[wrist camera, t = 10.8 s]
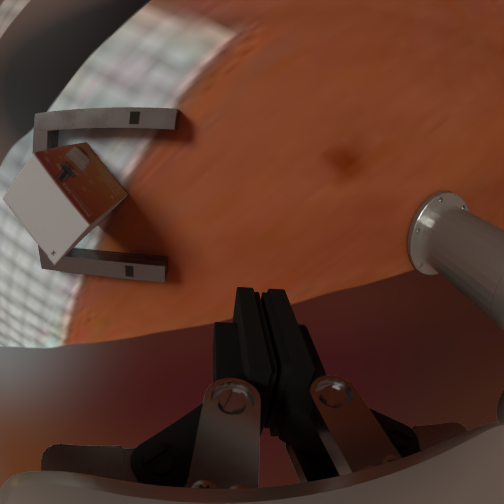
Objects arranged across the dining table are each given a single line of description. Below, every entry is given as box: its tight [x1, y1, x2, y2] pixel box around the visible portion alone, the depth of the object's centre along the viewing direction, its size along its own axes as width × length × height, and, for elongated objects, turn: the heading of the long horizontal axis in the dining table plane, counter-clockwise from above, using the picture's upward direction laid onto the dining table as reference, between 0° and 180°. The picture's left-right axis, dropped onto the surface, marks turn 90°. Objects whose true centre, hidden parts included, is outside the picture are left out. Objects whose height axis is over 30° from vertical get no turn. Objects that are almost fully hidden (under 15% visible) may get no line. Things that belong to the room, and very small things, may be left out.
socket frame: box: [33, 107, 180, 283], centre depth 26 cm, size 16×18×3 cm
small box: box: [3, 143, 128, 265], centre depth 22 cm, size 8×6×10 cm
